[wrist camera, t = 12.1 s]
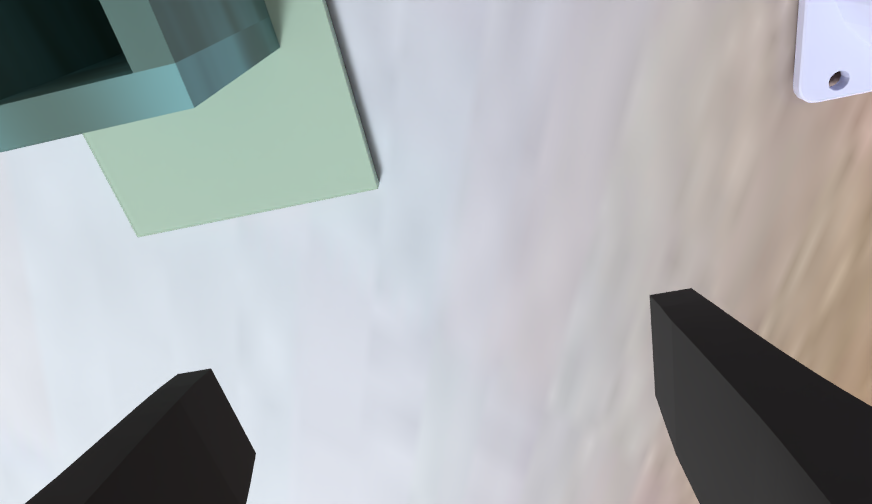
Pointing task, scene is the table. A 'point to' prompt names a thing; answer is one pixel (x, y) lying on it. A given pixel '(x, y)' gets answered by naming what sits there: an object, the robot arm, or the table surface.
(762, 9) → the table surface
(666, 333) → the robot arm
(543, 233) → the table surface
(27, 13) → the collar
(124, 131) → the end mat
